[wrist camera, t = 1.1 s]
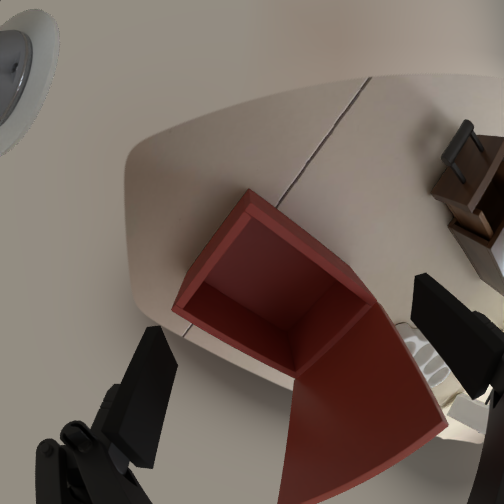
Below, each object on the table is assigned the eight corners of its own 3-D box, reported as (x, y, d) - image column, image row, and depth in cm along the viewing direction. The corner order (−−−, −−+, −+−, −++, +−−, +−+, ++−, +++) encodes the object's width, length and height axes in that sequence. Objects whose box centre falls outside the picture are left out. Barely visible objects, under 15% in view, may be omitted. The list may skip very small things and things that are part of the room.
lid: (275, 512, 11) (284, 515, 11) (442, 420, 8) (449, 425, 8) (293, 380, 26) (299, 384, 26) (376, 300, 23) (382, 305, 23)
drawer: (409, 167, 26) (447, 175, 20) (450, 108, 23) (487, 106, 17) (471, 252, 30) (501, 272, 24) (504, 199, 27) (535, 211, 21)
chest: (186, 273, 31) (170, 310, 24) (248, 188, 28) (250, 202, 20) (286, 335, 34) (295, 379, 27) (350, 267, 31) (377, 300, 24)
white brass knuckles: (342, 373, 37) (412, 301, 33) (402, 399, 41) (458, 344, 37) (348, 389, 34) (424, 314, 30) (408, 412, 38) (467, 355, 34)
